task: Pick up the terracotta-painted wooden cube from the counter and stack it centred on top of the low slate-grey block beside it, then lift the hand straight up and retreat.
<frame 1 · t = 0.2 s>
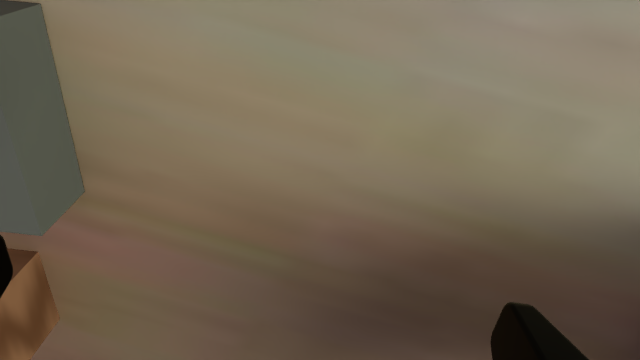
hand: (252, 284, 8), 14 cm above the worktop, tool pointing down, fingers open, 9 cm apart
terracotta cube: (5, 281, 30), on the worktop
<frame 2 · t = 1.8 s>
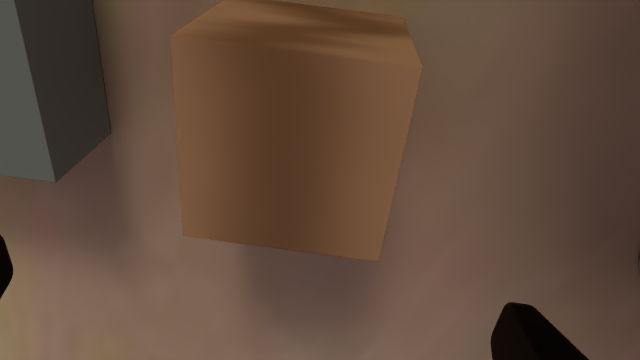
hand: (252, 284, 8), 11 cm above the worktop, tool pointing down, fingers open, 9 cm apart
terracotta cube: (308, 87, 17), on the worktop
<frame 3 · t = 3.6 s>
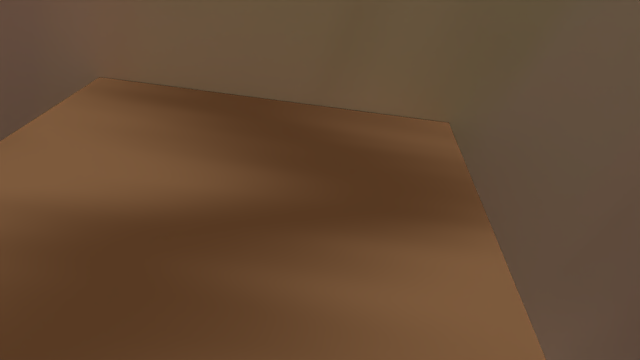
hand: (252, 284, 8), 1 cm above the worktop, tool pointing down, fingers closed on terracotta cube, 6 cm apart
terracotta cube: (265, 238, 9), on the worktop, touching gripper
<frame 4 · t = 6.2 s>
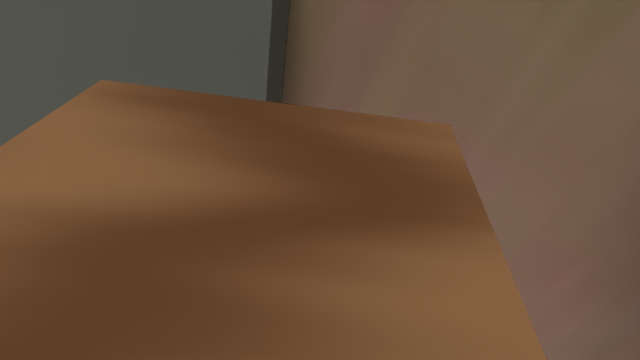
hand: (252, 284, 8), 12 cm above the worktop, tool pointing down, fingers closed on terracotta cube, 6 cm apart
terracotta cube: (266, 239, 9), point 10 cm above the worktop, touching gripper
slate block: (158, 22, 18), on the worktop
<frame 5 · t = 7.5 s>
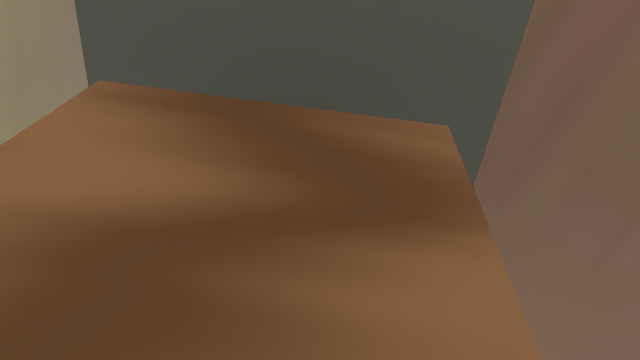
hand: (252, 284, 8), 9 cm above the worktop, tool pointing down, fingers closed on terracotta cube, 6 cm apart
terracotta cube: (265, 240, 9), point 7 cm above the worktop, touching gripper
slate block: (300, 107, 15), on the worktop
when the fingers open (7 cm above the worktop, at t = 8.7 s): terracotta cube drops 2 cm, resting on slate block.
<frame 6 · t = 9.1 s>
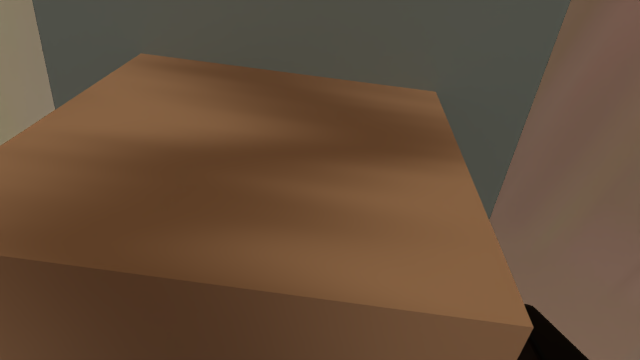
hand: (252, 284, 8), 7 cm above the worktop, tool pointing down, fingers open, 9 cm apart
terracotta cube: (278, 196, 11), point 4 cm above the worktop, touching slate block
slate block: (296, 125, 14), on the worktop
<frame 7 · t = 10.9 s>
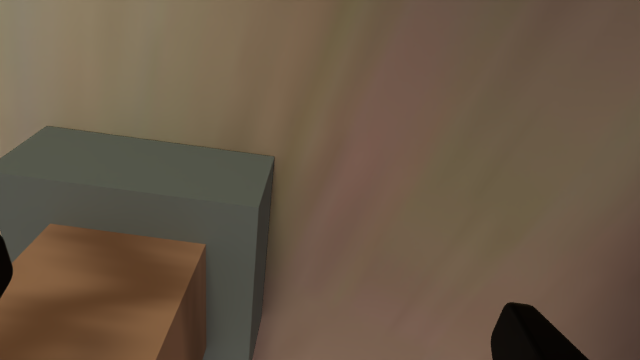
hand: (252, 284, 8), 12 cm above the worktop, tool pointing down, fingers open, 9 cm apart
terracotta cube: (134, 290, 19), point 4 cm above the worktop, touching slate block
slate block: (166, 232, 22), on the worktop
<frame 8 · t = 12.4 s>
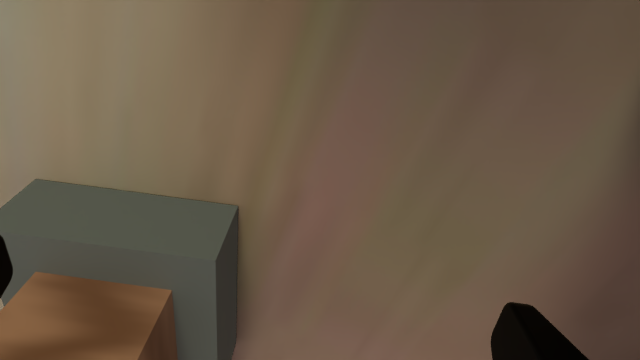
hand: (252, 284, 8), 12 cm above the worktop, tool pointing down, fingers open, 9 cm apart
terracotta cube: (112, 327, 21), point 4 cm above the worktop, touching slate block
slate block: (146, 269, 25), on the worktop
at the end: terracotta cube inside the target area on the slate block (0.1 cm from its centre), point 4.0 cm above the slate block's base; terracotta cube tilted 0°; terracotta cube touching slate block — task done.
